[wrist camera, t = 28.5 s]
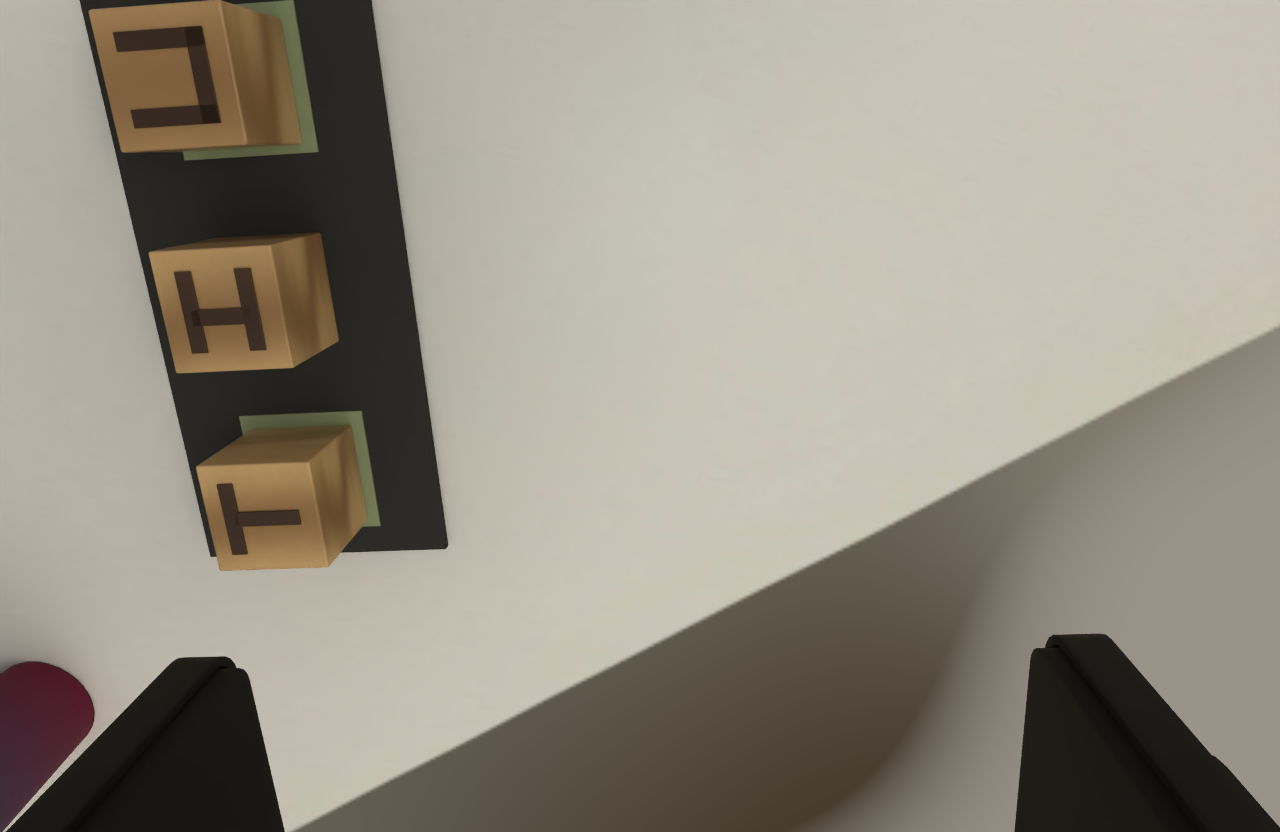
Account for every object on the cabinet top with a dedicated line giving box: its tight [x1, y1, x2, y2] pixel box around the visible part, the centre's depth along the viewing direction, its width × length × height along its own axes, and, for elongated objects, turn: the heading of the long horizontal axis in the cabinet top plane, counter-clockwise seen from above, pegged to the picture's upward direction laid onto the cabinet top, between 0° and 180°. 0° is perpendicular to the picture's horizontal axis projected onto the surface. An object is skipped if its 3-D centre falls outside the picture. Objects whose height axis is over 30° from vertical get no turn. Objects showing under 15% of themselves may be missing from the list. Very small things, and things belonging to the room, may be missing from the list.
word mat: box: [80, 0, 448, 557], centre depth 35 cm, size 24×11×1 cm, turn 3°
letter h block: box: [149, 232, 339, 373], centre depth 33 cm, size 4×4×5 cm
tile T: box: [196, 425, 367, 571], centre depth 35 cm, size 4×4×5 cm
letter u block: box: [89, 0, 302, 153], centre depth 31 cm, size 4×4×5 cm
